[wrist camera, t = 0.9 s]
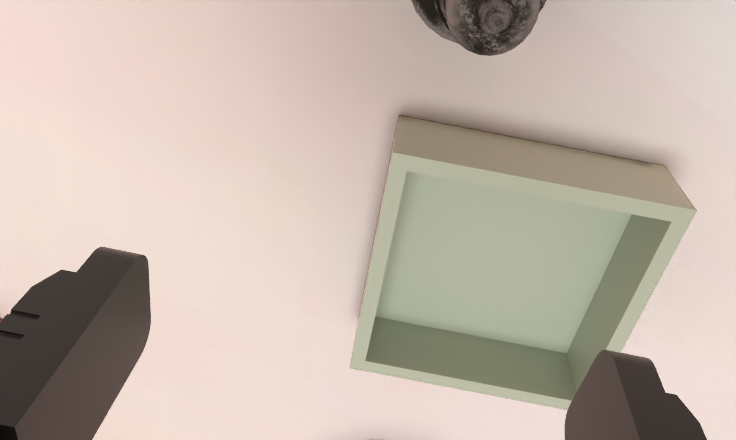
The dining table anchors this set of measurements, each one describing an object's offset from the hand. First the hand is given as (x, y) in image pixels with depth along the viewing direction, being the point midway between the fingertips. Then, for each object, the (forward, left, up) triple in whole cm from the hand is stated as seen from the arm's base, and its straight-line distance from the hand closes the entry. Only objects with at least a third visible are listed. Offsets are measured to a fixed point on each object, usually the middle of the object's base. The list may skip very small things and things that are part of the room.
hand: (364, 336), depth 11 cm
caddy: (+11, +7, -21) cm, 25 cm away
